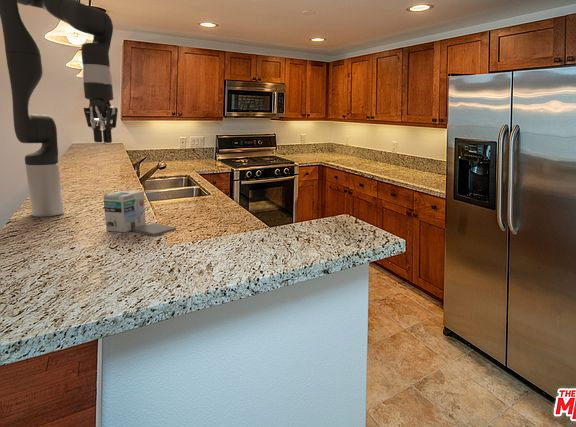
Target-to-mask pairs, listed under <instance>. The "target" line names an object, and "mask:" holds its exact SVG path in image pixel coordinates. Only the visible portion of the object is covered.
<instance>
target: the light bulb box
mask: <svg viewBox="0 0 576 427" xmlns="http://www.w3.org/2000/svg"><path fill="white" fill-rule="evenodd" d="M102 198H103V206H104V208H103V209H104V218H105V219H104V220H105V229H106V231H107V232H119V233H128V232H130V231H132V228H134V227H138V226H143V225H147V223H146V209H145V208H146V206H145V192H144V191H143V190H132V189H131V190H129V189H123V190H120V191H116V192H111V193H107V194H103V197H102Z"/></svg>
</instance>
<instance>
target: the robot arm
mask: <svg viewBox="0 0 576 427" xmlns="http://www.w3.org/2000/svg"><path fill="white" fill-rule="evenodd" d="M18 4H20V5H23V6H26V7H27V6H28V7H35V8H40V9H43V10H46V11H47V12H48V14H49V15H51V16H52V17H54V18H56V19H58V20H60V21H62V22H64V23H66V24H68V25H70V26H71V27H72V28H73V29H75V30H77V31H79V32H82V33H84V34H88V35H91V36H93V39H92V42H84V43H83V44H82V45H81V47H80V48H81V50H80V51H81V60H82V62H81V63H82V84H83V94H84V98H85V99H87V100H89V105H88V107H83V112H84V117H85V119H86V124H87V126H88V128H91V130H92V131H93V140H94V142H95V143H104V144H111V143H112V141H113V138H112V130H113V129H115V128H116V127H117V119H118V107H115V106H112V104H111V101H113V100H114V90H113V79H112V78H113V77H112V72H111V65H110V54H109V53H110V47H111V43H112V39H113V38H112V37H113V34H114V33H113V32H114V24H113V20H112V19H111V17H110V15H109V14H108V13H107V12H105V11H103V10H101V9H98V8H95V7H92V6H90V5H86V4H85V3H82V2H80V1H79V0H0V22H1V28H2V32H3V33H2V34H3V41H4V50H5V56H6V57H5V59H6V65H7V70H8V71H7V72H8V75H9V76H8V77H9V82H10V90H11V96H12V98H11V100H12V101H11V102H12V116H13V117H12V118H13V127H14V128H13V129H14V133H15V136H16V138H17V141H19V142H20V143H22V144H41V147H40V148H39V149H38V150H36V151H34V152H31V153H29V154H26V155H25V156H24V164H25V172H26V179H27V185H28V193H29V199H30V208H31V216H33V217H40V218H41V217H43V218H44V217H53V216H60V215H62V214H64V213H65V209H64V201H63V191H62V182H61V175H60V166H59V147H58V132H57V130H58V129H57V125H56V122H55V119H54V118H53V116H51V115H47V114H38V113H37V114H36V113H35V114H33V113H29V104H30V100H31V96H32V95H33V92H34V91H35V89H36V88H37V86H38V85H39V83H40V81H42V80H41V79H42V78H43V74H44V65H43V57H42V51H41V49H40V47H39V45H38V43H37V40H36V39H35V38H34V36H33V35H32V34H31V32H30V30H29V29H28V28H27V26H26V24H25V22H24V21H23V18H22V16H21V13H20V8H19V5H18Z"/></svg>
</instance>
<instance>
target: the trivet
mask: <svg viewBox="0 0 576 427" xmlns="http://www.w3.org/2000/svg"><path fill="white" fill-rule="evenodd" d="M131 231H132V232H136V233H139V234H142V235H147V236H151V237H157V236H161V235H163V234H164V235H165V234H168V233H172V232H176V231H177V227H174V226H169V225H164V224H162V223H157V222H152V223H151V222H150V223H146V225H143V226H138V227H134V228H132V230H131Z"/></svg>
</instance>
